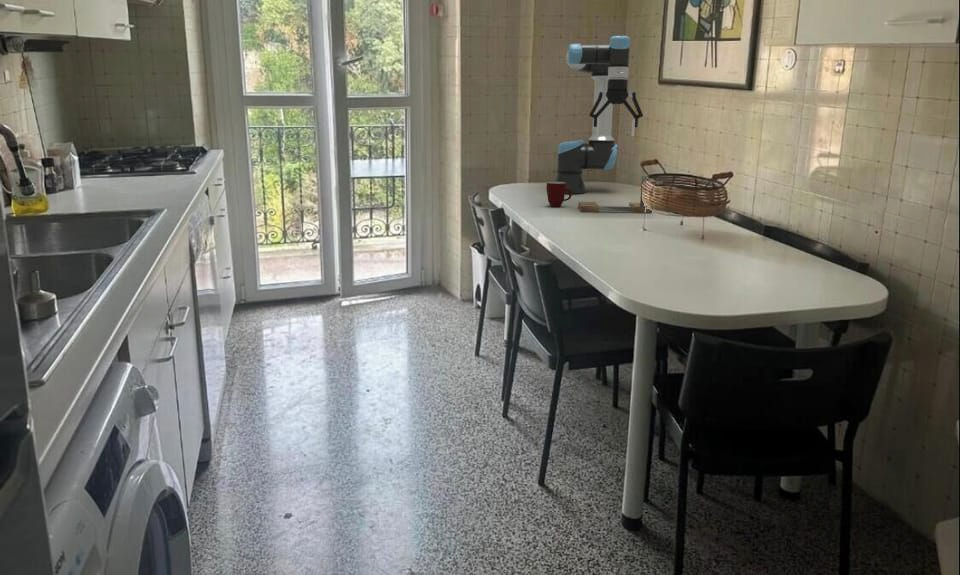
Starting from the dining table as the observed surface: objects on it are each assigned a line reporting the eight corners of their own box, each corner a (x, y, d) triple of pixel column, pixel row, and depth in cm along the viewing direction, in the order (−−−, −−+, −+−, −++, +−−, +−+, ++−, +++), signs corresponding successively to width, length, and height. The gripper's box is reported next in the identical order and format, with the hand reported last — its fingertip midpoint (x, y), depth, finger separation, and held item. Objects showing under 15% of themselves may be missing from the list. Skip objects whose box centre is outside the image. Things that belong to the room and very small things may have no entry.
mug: (567, 205, 307) (568, 181, 304) (573, 207, 299) (574, 183, 296) (543, 205, 305) (544, 181, 302) (548, 208, 297) (549, 183, 295)
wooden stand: (578, 207, 299) (579, 172, 296) (646, 208, 298) (648, 173, 294) (581, 212, 286) (582, 175, 283) (652, 213, 285) (654, 176, 282)
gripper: (585, 78, 271) (583, 135, 277) (652, 78, 270) (648, 136, 275) (584, 79, 279) (581, 135, 284) (649, 79, 277) (646, 135, 282)
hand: (614, 136), depth 279 cm, fingers open, 13 cm apart
